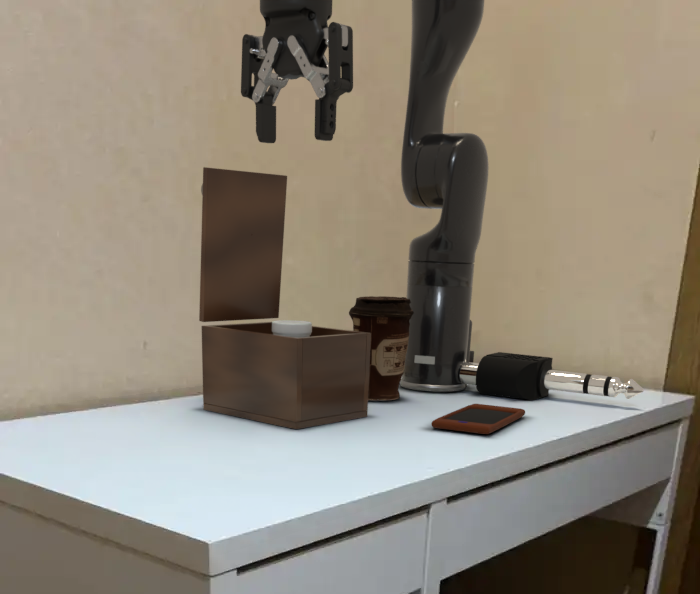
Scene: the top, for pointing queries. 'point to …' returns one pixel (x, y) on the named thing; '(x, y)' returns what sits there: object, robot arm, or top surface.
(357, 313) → the coffee cup
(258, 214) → the lid
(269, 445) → the top surface
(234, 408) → the walnut box
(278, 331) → the pill bottle
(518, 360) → the audio adapter
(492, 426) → the smartphone
